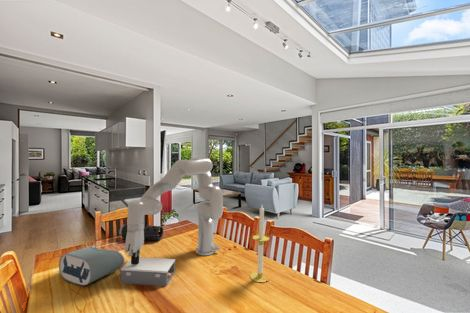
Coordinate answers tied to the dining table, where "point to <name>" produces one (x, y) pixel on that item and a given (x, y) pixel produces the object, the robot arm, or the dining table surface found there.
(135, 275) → the cable duct
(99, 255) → the pencil case
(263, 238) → the candle
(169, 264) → the plate
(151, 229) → the muzzle brake
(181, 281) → the dining table surface
